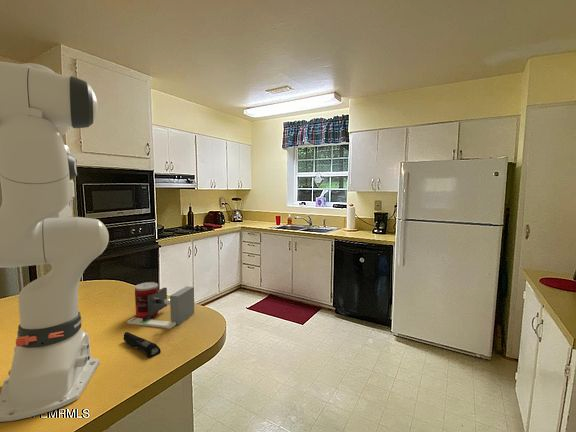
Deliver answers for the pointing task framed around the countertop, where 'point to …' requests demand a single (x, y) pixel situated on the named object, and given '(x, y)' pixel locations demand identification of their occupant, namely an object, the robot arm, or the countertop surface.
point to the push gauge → (173, 310)
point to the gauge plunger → (157, 302)
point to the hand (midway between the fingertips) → (60, 232)
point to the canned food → (144, 298)
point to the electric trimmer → (142, 344)
